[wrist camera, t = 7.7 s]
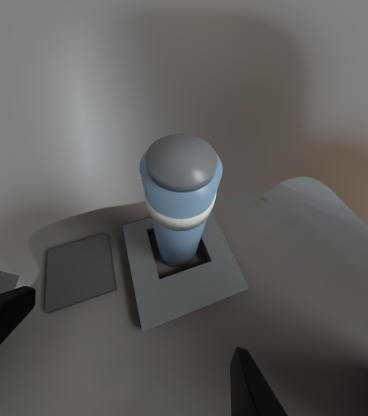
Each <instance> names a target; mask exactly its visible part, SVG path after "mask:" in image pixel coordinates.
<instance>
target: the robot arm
mask: <svg viewBox="0 0 368 416" xmlns="http://www.w3.org/2000/svg"><path fill="white" fill-rule="evenodd" d="M34 306H35V289H34V288H32V287H28V286H23V287H20V288H17V289H14V290H11V291H7V292H4V293H1V294H0V344H1V343H2V342H3V341H4V340H5V339H6V338H7V337H8V336H9V335H10V333H11V332H12V331H13V330H14V329H15V328H16V327H17V326H18V325H19V324H20V322H21V321H22V320H23V319H24V318H25V317H26V316H27V315H28V314H29V313H30V311H31V310H32V309H33V308H34ZM230 376H231V414H232V416H287V414H286V412H285V411H284V409H283V408H282V406H281V404H280V403H279V401H278V399H277V398H276V396H275V394H274V393H273V391H272V390H271V388H270V386H269V385H268V383H267V381H266V380H265V378H264V376H263V375H262V373H261V372H260V370H259V368H258V367H257V365H256V363H255V362H254V360H253V358H252V357H251V355H250V354H249V352H248V351H247V350H246V349H243V348H240V347H237V348H236V349H235V352H234V355H233V358H232V361H231V366H230Z"/></svg>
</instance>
